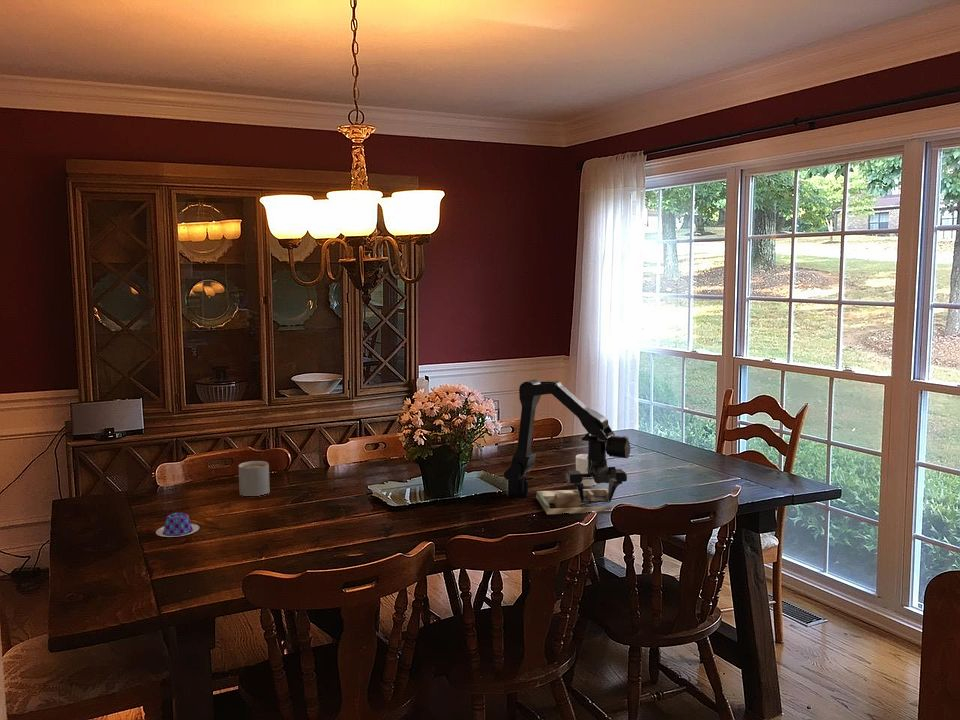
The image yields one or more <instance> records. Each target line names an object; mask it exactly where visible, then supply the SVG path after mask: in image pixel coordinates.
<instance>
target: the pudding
mask: <svg viewBox="0 0 960 720" xmlns="http://www.w3.org/2000/svg"><path fill="white" fill-rule="evenodd" d="M199 529H200V525H197V524H196V523H191V520H190V517H189V515H188V514H187V513H185V512H174V513H170V514H168V515H167V516H166V518H165V521H164V526H162V527H160V528H158V529H157V530H156V531H155V534H156V535H157V536H160V537H163V538H164V537H166V538H173V537H183V536H188V535H191V534H194V533H195V532H197V531H199Z"/></svg>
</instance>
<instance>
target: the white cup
mask: <svg viewBox="0 0 960 720" xmlns="http://www.w3.org/2000/svg"><path fill="white" fill-rule="evenodd" d="M587 456H588V453H582V454H577V455H575V471H579V472H580V473H581V474H583V473H588V472H587V468H588V459H587ZM582 483H583V487H594V486H593V485H595V486H597V483H595V481H594V479H582Z"/></svg>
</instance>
